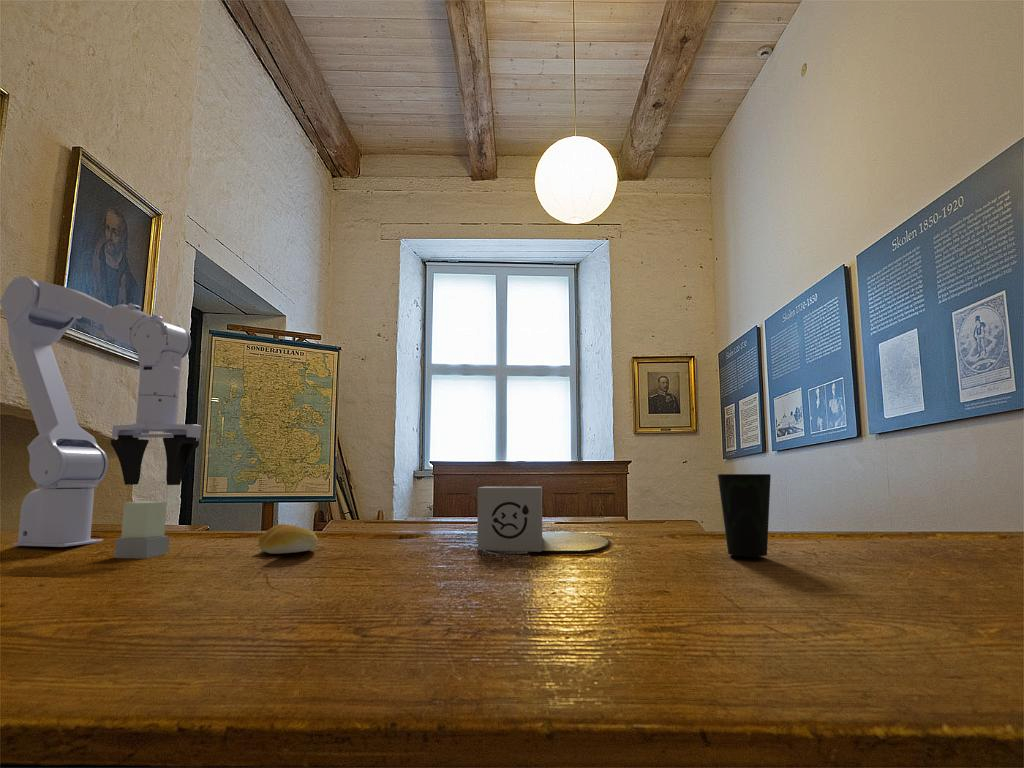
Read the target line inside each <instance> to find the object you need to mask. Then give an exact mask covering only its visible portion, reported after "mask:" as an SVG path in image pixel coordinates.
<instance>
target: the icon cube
mask: <svg viewBox="0 0 1024 768" xmlns="http://www.w3.org/2000/svg"><path fill="white" fill-rule="evenodd" d="M476 530H477V544H476V545H477V551H499V552H500V551H501V552H504V551H505V552H536V553H537V552H540V553H541V552H542V547H543V487H542V486H480V487H477V528H476Z"/></svg>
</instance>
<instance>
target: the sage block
mask: <svg viewBox="0 0 1024 768" xmlns="http://www.w3.org/2000/svg"><path fill="white" fill-rule="evenodd" d="M166 515H167V501H136V502H135V501H132V502H123V511H122V523H121V526H122V527H121V538H124V537H125V538H148V537H156V536H166V535H165V530H166Z"/></svg>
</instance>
